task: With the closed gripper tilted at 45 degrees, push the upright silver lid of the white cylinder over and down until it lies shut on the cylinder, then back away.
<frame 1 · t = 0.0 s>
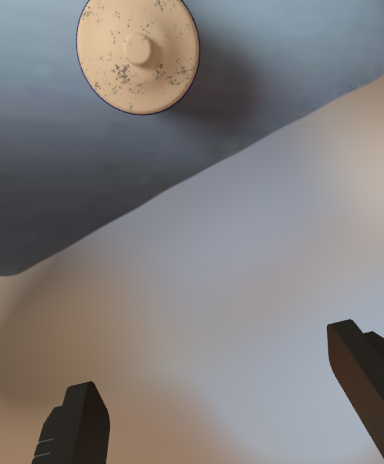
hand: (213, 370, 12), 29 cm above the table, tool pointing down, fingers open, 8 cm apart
teacup with lid: (138, 37, 33), on the table
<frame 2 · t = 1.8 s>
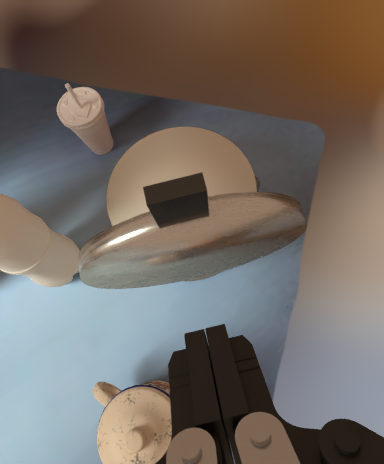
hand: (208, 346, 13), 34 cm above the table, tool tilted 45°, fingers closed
smoothie: (102, 145, 56), on the table
teacup with lid: (147, 410, 43), on the table
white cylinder: (188, 220, 51), on the table
water bottle: (64, 265, 50), on the table
cooker lid: (191, 245, 27), point 21 cm above the table, hinge at 92.0°
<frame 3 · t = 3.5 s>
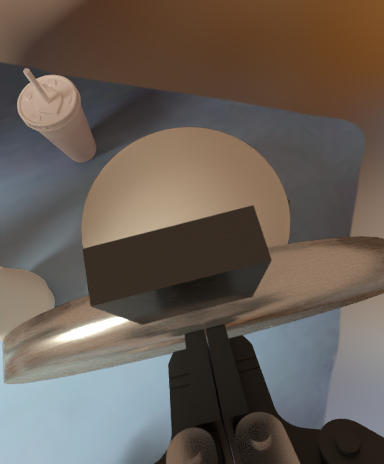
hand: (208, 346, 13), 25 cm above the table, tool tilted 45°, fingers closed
smoothie: (83, 150, 45), on the table
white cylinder: (192, 247, 39), on the table
water bottle: (31, 307, 39), on the table
cooker lid: (205, 318, 16), point 21 cm above the table, hinge at 88.5°, touching gripper
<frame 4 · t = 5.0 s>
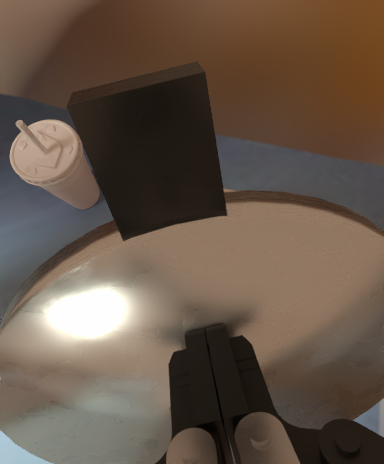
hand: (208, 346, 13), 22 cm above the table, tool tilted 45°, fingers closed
smoothie: (84, 195, 40), on the table
cooker lid: (211, 354, 15), point 20 cm above the table, hinge at 57.4°, touching gripper
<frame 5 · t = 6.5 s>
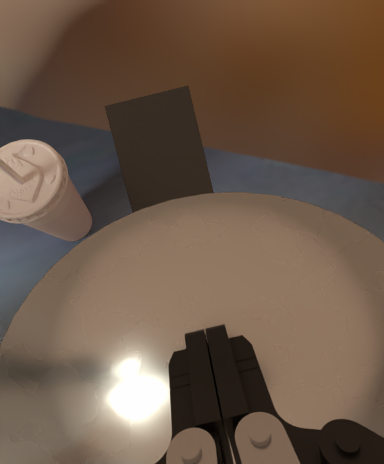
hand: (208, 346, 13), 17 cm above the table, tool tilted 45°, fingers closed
smoothie: (74, 223, 34), on the table
cooker lid: (217, 380, 14), point 16 cm above the table, hinge at 25.7°, touching gripper
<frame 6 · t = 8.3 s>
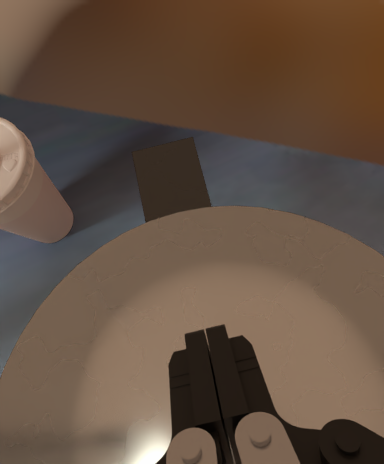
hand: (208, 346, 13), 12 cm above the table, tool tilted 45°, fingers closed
smoothie: (52, 222, 28), on the table
cooker lid: (220, 392, 13), point 11 cm above the table, hinge at 0.0°
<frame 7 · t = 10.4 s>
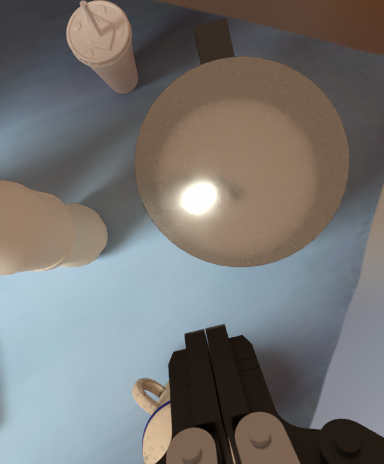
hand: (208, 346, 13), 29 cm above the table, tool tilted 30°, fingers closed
smoothie: (124, 80, 44), on the table
teacup with lid: (185, 397, 41), on the table
water bottle: (85, 236, 43), on the table
cooker lid: (234, 142, 31), point 11 cm above the table, hinge at 0.0°
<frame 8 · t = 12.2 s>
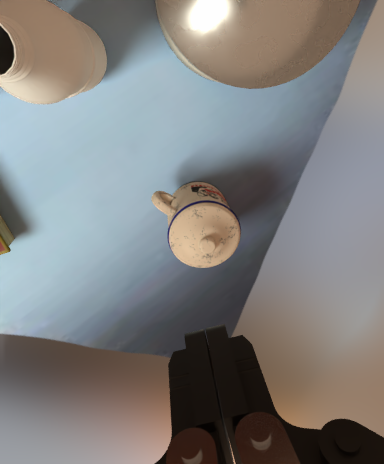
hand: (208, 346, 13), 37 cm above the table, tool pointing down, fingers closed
teacup with lid: (188, 204, 50), on the table
water bottle: (78, 57, 41), on the table
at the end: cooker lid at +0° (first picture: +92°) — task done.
